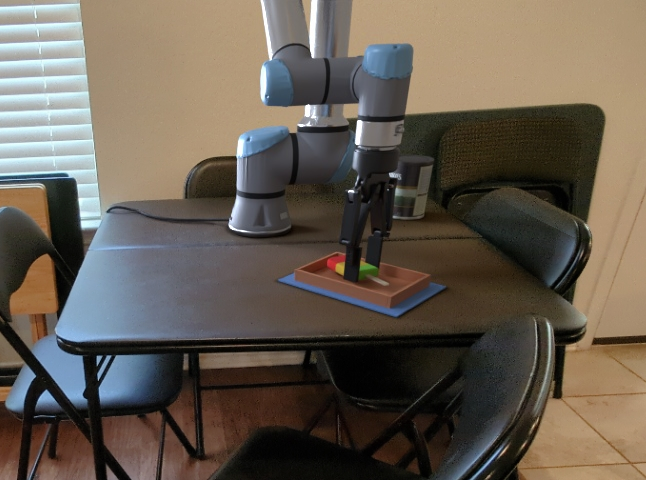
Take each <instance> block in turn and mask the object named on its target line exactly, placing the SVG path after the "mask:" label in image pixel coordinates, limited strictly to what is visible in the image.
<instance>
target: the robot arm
mask: <svg viewBox="0 0 646 480" xmlns="http://www.w3.org/2000/svg"><path fill="white" fill-rule="evenodd" d="M353 1H354V0H310V15H309V31H308V24H307V19H306V14H305V7H304V2H303V0H260V4H261V9H262V10H261V11H262V17H263V25H264V32H265V39H266V45H267V52H268V53H267V54H268V59H269V60H266V61H264V62H263V64H262V66H261V70H260V84H259V85H260V98H261V99H260V100H261V102H262V103H263V105H264V106H267V107H282V108H289V107H302V106H303V107H304V115H303V117H302V118H301V119H300V120H299V121H298V122H296V123H297V124H296V132H290V129H289V127H288V126H286V125H276V126H274V125H272V126H264V127H259V128H255V129H251V130H247V131H245V132H244V133H242V134H241V135H240V136H239V137H238V140H237V149H236V159H237V161H236V165H237V166H236V198H235V200H234V204H233V206H232V211H231V214H230V217H229V218H221V217H220V218H219V217H218V218H176V217H166V216H159V215H155V214H151V213H148V212H145V211H143V210H141V209H138V208H132V207H128V206H123V205H114V206H111V207H109V208H107V210H106V211H105V213H110V212H111V211H112V210H117V209H119V210H125V211H129V212H136V213H140V214H142V215H143V216H145V217H148V218H152V219H155V220H162V221H168V222H169V221H170V222H183V223H184V222H185V223H186V222H188V223H189V222H193V223H194V222H200V223H202V222H207V223H208V222H228V231H230V232H231V233H233V234H235V235H238V236H242V237H247V238H248V237H249V238H273V237H278V236H283V235H285V234H288V233H289V232H290V231H291V230H292V220H291V219H292V218H291V216H290V213H289V209H288V204H287V201H286V200H287V199H286V187H287V186H293V185H294V186H296V185H297V186H298V185H299V186H300V185H317V184H319V185H320V184H322V185H328V184H336V183H340V182H342V181H345V179H346V178H347V177H348V175H349V174H350V172H351V170H353V171H354V172H355V173H357V178H356V180H355V185H354V186H353V187H352V188H351V187H346V188H345V189H344V207H343V215H342V222H341V228H340V233H339V238H338V239H339V240H338V244H339V245H340V246H343V247H345V254H346V257H345V266H344V275H343V279H344V280H348V281H351V282H355V283H356V282H358V279H359V270H360V262H361V258H362V253H363V246H360V245H361V243H362V239H363V236H364V233H365V229H366V226H367V222H368V218H370V231H371V232H370V233H371V234H369V235H368V236H367V242H366V243H367V244H366V251H365V262H366V263H368V264H370V265H372V266H375V267H377V268H378V269H379V267H380V262H381V258H382V252H383V245H384V238H387V239H388V238H389V237H391V231H392V229H393V220H394V218H393V211H394V200H395V191H396V187H397V183H398V178H396V177H390V174H389V173H392V172H395V171H396V170H397V168H398V162H399V155H401V150H400V148H399V147H398V146H400V145H401V144H402V139H403V133H405V127H404V123H405V118H406V111H407V105H408V97H409V91H410V85H411V78H412V73H413V70H414V66H413V65H414V46H413V45H412V44H410V43H376V44H369V45H367V47H366V48H365V49H364V54H363V55H356V56H349V49H350V36H351V25H352V14H353ZM356 104H357V105H358V109H357V119H356V127H355V132H354V130H351V129H350V122H349V121H348V120H347V118H346V117H345V115H344V107H345V105H356ZM388 189H389V190H388ZM369 216H370V217H369Z"/></svg>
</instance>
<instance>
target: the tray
mask: <svg viewBox="0 0 646 480" xmlns="http://www.w3.org/2000/svg"><path fill="white" fill-rule="evenodd" d="M343 255H346V253H345V252H340V251H335V252H333V253H330V254H328V255H326V256H323V257H320V258H319V259H316V260H314V261H311V262H309V263H307V264H304V265H302V266H299V267H297V268H295V269H294V273H295V275H294V280H295V281H299V282H302V283H305V284H309V285H312V286H315V287H319V288H322V289H325V290H329V291H332V292H335V293H339V294H342V295H345V296H349V297H352V298H356V299H359V300H362V301H366V302H369V303H372V304H376V305H379V306H382V307H386V308H389V309H390V308H392V307H394V306H395V305H397V304H399V303H401V302H402V301H404V300H406V299H407V298H409V297H411V296H413V295H414V294H416V293H418V292H420V291H421V290H423V289H425V288H426V287H428V286H429V284H430V282H431V278H432V274H429V273H426V272H422V271H418V270H413V269H409V268H405V267H401V266H397V265H393V264H390V263H385V262H381V261H380V267H379V274H378V276H377V277H376V278H378V279H381V280H383V281H385V282H387V283H389V286H384V285H382V284H380V283H378V282H375V281H373V280H371V279H369V278H367V279H363V280H358V282H356V283H355V282H351V281H348V280H344V279H343V275H341V274H339V273H337V272H335V271H333V270H331V269H329V268H328V267H327V262H328V259H329V258H332V257H338V256H343ZM365 259H366V257H365V258H364V257H361V261H363V262H365Z"/></svg>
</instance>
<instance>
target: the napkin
mask: <svg viewBox="0 0 646 480" xmlns="http://www.w3.org/2000/svg"><path fill="white" fill-rule="evenodd" d="M294 275H295V272H293V273H291V274H288V275H285V276H284V277H281V278H279V279H277V281H278V282H280V283H283V284H286V285H289V286H293V287H295V288H299V289H302V290H304V291H309V292H312V293H316V294H318V295H322V296H325V297H328V298H332V299H334V300H335V299H336V300H338V301H341V302H345V303H348V304H351V305H355V306H357V307H360V308H364V309H367V310H371V311H374V312H377V313H380V314H383V315H386V316H390V317H393V318H399V317H401V316H402V315H404V314H405V313H407V312H408V311H410V310H412V309H414V308H415V307H417V306H419V305H420V304H422V303H424V302H425V301H427V300H429V299H430V298H432V297H433V296H435V295H437V294H438V293H440V292H441V291H443V290H445V289H447V286H446V285H443V284H439V283H436V282H435V283H434V282H431V281H430V284H429V286H428V287H426V288H425V289H423V290H421V291H420V292H418V293H416V294H414V295H413V296H411V297H409V298H407V299H406V300H404V301H402V302H401V303H399V304H397V305H395V306H394V307H392V308H390V309H389V308H386V307H382V306H379V305H376V304H372V303H369V302H366V301H362V300H359V299H356V298H352V297H349V296H345V295H342V294H339V293H335V292H332V291H329V290H325V289H322V288H319V287H315V286H312V285H309V284H305V283H302V282H299V281H295V280H294Z"/></svg>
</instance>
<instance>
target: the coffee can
mask: <svg viewBox="0 0 646 480" xmlns="http://www.w3.org/2000/svg"><path fill="white" fill-rule="evenodd" d="M434 163H435V158H434V157H431V156H428V155H421V154H400V155H399V162H398V168H397V170H396V171H395V172H392V173H389V174H390V177H396V178H398V183H397V187H396V191H395V200H394V211H393V220H394V219H395V220H403V221H413V220H420V219H422V218H424V217H425V212H426V205H427V201H428V194H429V188H430V182H431V177H432V172H433V167H434ZM388 190H389V189H388Z"/></svg>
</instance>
